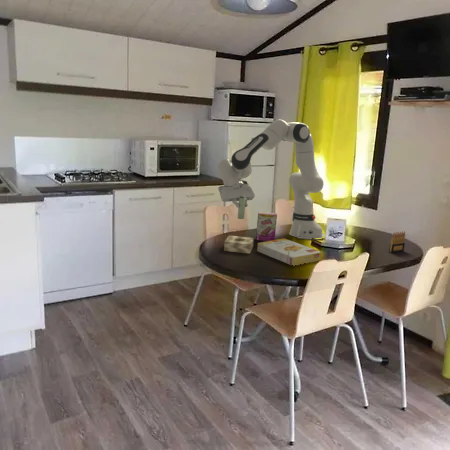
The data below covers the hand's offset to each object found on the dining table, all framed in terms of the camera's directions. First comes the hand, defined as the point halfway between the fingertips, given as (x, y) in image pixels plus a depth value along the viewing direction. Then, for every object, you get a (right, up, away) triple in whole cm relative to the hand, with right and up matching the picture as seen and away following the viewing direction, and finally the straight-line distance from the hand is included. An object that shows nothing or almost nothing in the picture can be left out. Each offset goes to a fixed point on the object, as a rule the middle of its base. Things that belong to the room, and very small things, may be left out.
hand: (242, 206), depth 237 cm
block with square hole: (-2, -23, +6) cm, 23 cm away
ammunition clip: (+89, -25, +19) cm, 94 cm away
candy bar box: (+14, -19, +26) cm, 35 cm away
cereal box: (+24, -27, -1) cm, 36 cm away
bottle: (-1, -6, +2) cm, 7 cm away
